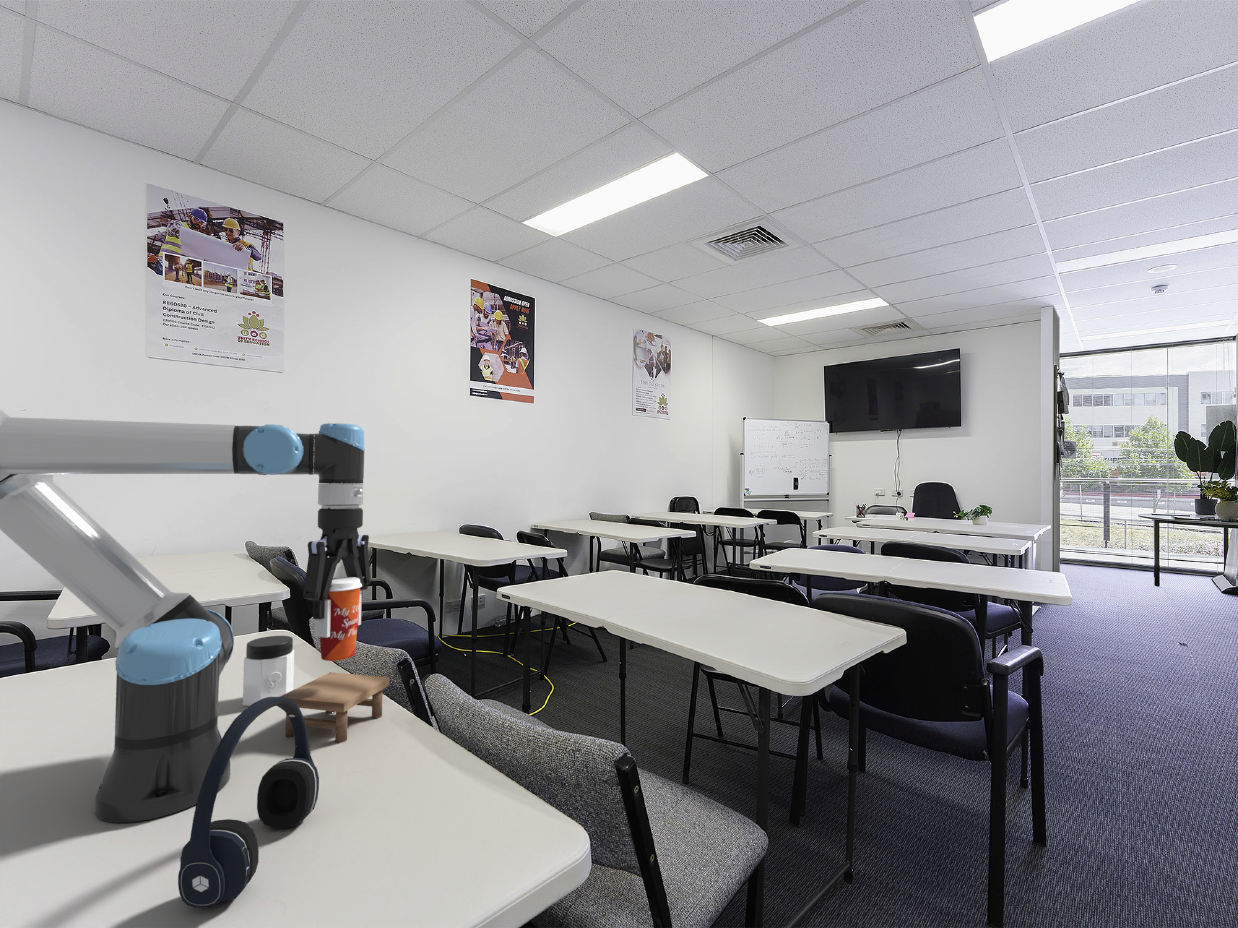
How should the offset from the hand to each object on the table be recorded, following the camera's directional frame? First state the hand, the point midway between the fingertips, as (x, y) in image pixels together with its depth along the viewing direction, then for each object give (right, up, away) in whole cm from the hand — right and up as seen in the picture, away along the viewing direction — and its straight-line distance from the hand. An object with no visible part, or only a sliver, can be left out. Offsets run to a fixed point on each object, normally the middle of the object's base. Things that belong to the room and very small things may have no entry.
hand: (338, 630), depth 104 cm
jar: (-20, -18, +11) cm, 29 cm away
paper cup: (0, -5, 0) cm, 5 cm away
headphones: (+9, -17, -37) cm, 41 cm away
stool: (0, -17, -1) cm, 17 cm away
